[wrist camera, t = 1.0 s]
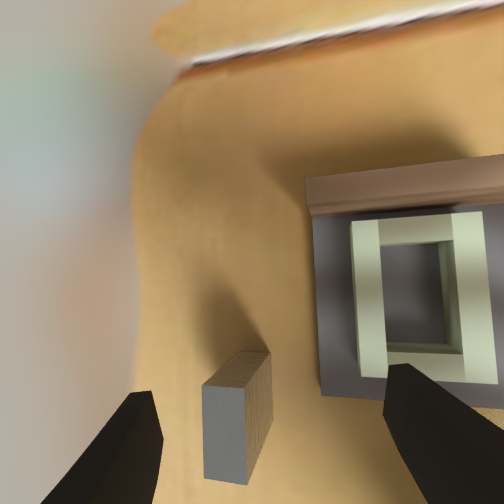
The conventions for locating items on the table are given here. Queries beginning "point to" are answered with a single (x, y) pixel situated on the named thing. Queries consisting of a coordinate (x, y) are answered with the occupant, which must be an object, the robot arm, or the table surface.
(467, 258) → the gray base with frame
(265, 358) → the thick gray slab
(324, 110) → the table surface
